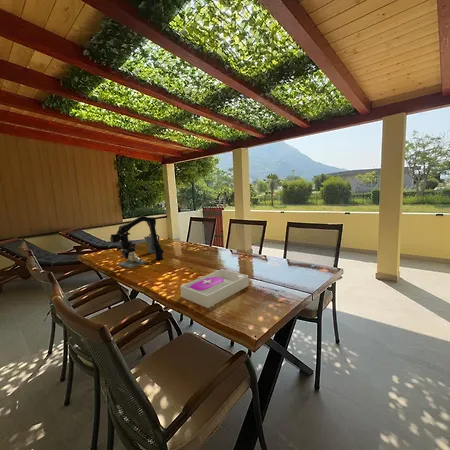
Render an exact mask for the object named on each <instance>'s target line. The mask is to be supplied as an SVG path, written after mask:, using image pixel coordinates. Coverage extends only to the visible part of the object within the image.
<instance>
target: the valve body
mask: <svg viewBox="0 0 450 450" xmlns="http://www.w3.org/2000/svg"><path fill="white" fill-rule="evenodd" d="M141 260H142V258H139V256H138V255H131V256H128V259H126V261H130V262H131V263H134V262H135V263H141Z"/></svg>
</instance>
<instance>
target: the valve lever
mask: <svg viewBox="0 0 450 450" xmlns="http://www.w3.org/2000/svg"><path fill="white" fill-rule="evenodd" d="M132 255H135V251H133V252H130V253H129V256H132ZM124 258H125V257H124V255H123V254H121V255H119V259H124Z"/></svg>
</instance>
